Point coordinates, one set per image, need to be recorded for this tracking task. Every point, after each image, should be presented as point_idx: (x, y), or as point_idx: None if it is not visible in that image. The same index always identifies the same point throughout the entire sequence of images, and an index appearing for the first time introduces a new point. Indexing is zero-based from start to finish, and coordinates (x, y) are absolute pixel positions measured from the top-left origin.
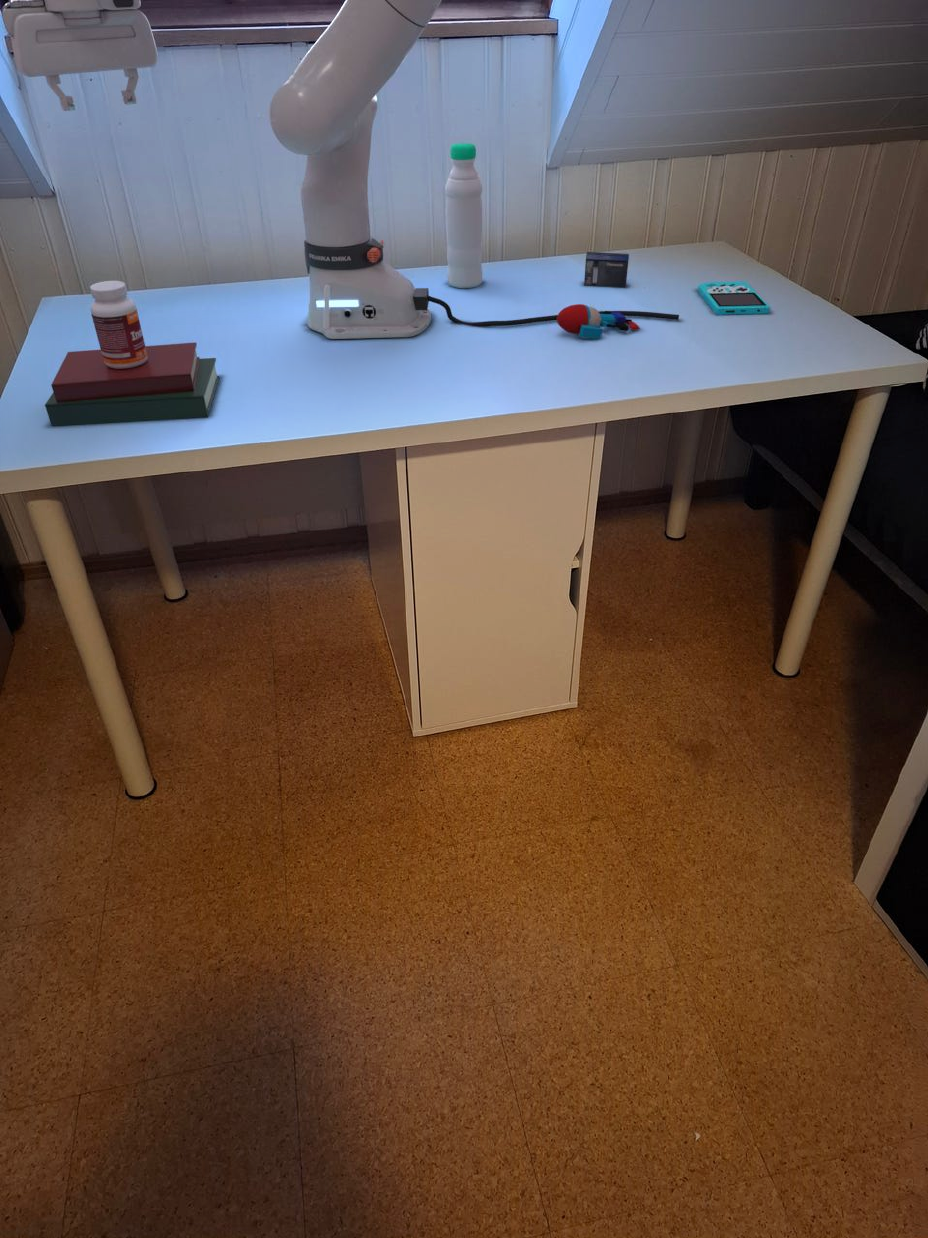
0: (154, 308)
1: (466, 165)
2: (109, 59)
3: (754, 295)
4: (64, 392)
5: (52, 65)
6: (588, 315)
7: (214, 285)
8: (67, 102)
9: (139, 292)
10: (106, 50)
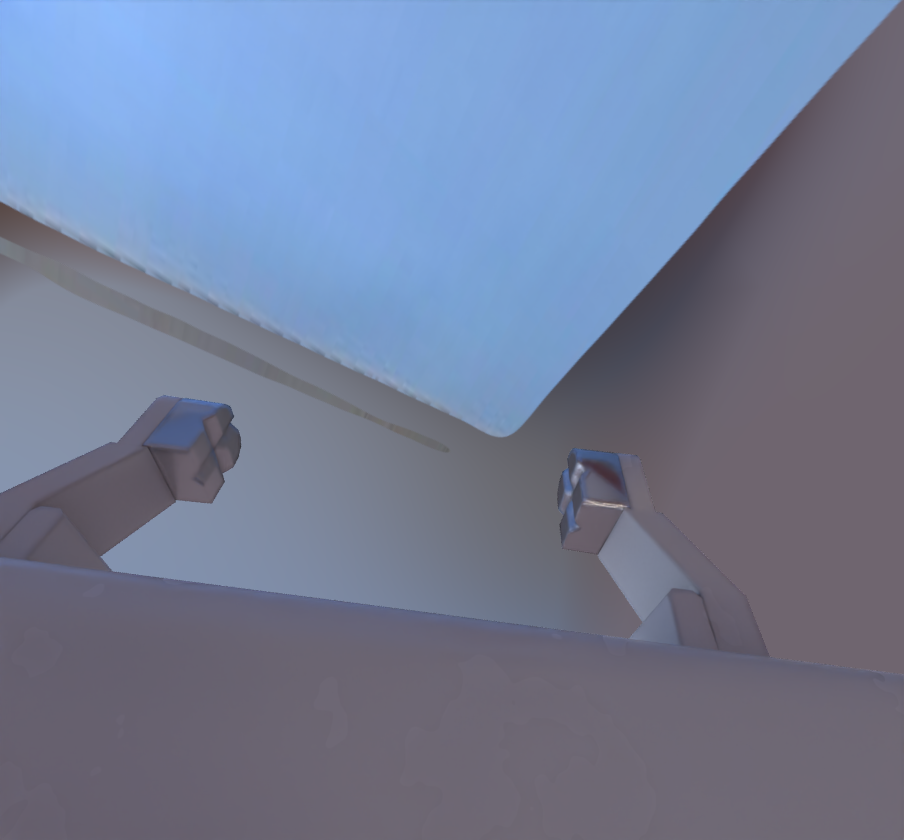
0: (407, 287)
1: None
2: (110, 668)
3: None
4: None
5: (799, 744)
6: None
7: (270, 323)
8: (624, 478)
9: (393, 377)
10: (54, 790)
